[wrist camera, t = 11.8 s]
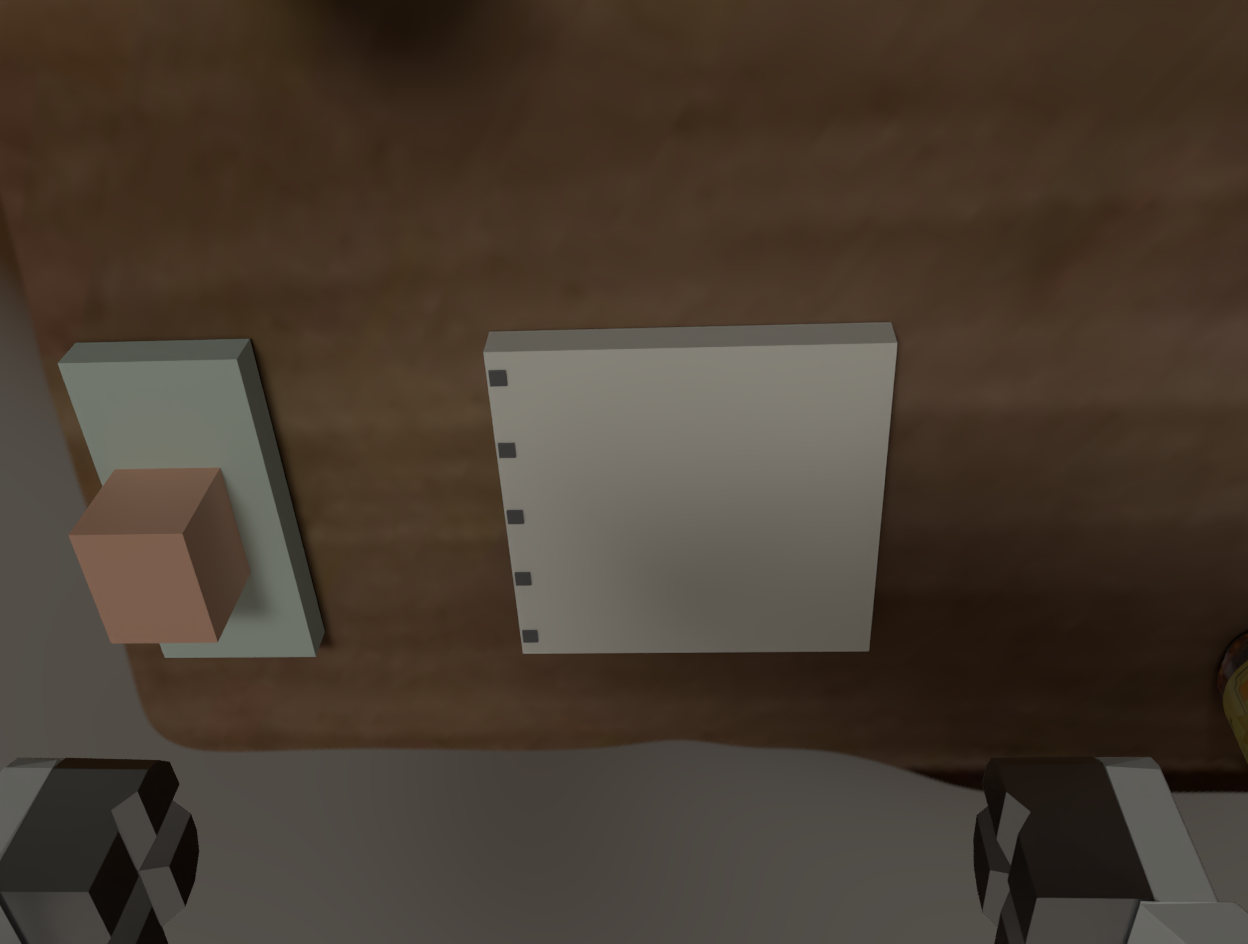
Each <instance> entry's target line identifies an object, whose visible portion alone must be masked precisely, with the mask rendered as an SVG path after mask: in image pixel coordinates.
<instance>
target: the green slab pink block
mask: <svg viewBox="0 0 1248 944" xmlns="http://www.w3.org/2000/svg"><path fill="white" fill-rule="evenodd" d="M58 366H59V368H60V371H61V374H62V377H63V379H64V382H65V385H66V388H67V390H68V393H69V396H70V399H71V401H72V404H73V407H74V410H75V412H76V415H77V418H78V421H79V423H80V426H81V429H82V432H83V434H84V437H85V440H86V443H87V445H88V448H89V451H90V454H91V456H92V459H93V462H94V465H95V467H96V470H97V473H98V476H99V478H100V481H101V484H102V488H101V490H100V491H99V492H98V494H97V495H96V497H95V498H94V500H93V501H92V502H91V504H90V505H89V507H88V508H87V510H86V511H85V512H84V514H83V515H82V517H81V518H80V520H79V521H78V522H77V524H76V525H75V527H74V528H73V530H72V531H71V533H70V534H69V538H70V540H71V543H72V545H73V548H74V550H75V552H76V555H77V558H78V560H79V563H80V565H81V568H82V570H83V573H84V576H85V578H86V580H87V583H88V586H89V588H90V591H91V593H92V596H93V598H94V601H95V603H96V606H97V608H98V611H99V614H100V616H101V619H102V621H103V624H104V626H105V628H106V631H107V633H108V636H109V639H110V641H111V643H160V646H161V649H162V651H163V654H164V657H165V658H207V657H316V655H317V652H318V649H319V647H320V644H321V641H322V639H323V636H324V633H325V631H324V627H323V623H322V619H321V615H320V611H319V607H318V603H317V599H316V596H315V592H314V588H313V584H312V580H311V576H310V572H309V568H308V564H307V560H306V556H305V553H304V549H303V545H302V541H301V537H300V533H299V529H298V525H297V521H296V517H295V513H294V510H293V506H292V502H291V498H290V494H289V490H288V486H287V482H286V478H285V474H284V470H283V467H282V463H281V459H280V455H279V451H278V447H277V443H276V439H275V435H274V431H273V428H272V424H271V420H270V416H269V412H268V408H267V404H266V400H265V396H264V392H263V388H262V385H261V381H260V377H259V373H258V369H257V365H256V361H255V357H254V353H253V349H252V345H251V342H250V339H218V340H176V341H134V342H92V343H75V344H74V345H73V347H72V348H71V349H70V350H69V351H68V352H67V353H66V355H65V356H64V357H63V358H62V359H61V360H60V361H59V362H58Z"/></svg>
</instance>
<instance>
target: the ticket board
mask: <svg viewBox="0 0 1248 944" xmlns="http://www.w3.org/2000/svg"><path fill="white" fill-rule="evenodd" d="M483 353H484V361H485V368H486V376H487V383H488V391H489V399H490V406H491V414H492V421H493V429H494V437H495V444H496V452H497V460H498V467H499V475H500V482H501V490H502V498H503V505H504V513H505V520H506V528H507V536H508V543H509V551H510V558H511V566H512V574H513V581H514V589H515V596H516V604H517V612H518V619H519V627H520V635H521V642H522V650H523V654H551V653H698V652H845V651H869V646H870V636H871V625H872V614H873V603H874V592H875V581H876V571H877V560H878V549H879V538H880V527H881V516H882V505H883V495H884V484H885V473H886V462H887V451H888V440H889V429H890V419H891V408H892V397H893V386H894V375H895V364H896V354H897V340H896V336H895V333H894V330H893V327H892V324H891V322H876V323H834V324H792V325H750V326H708V327H666V328H624V329H582V330H541V331H499V332H489V335H488V338H487V342H486V345H485V349H484V352H483Z"/></svg>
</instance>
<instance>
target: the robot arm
mask: <svg viewBox="0 0 1248 944" xmlns="http://www.w3.org/2000/svg"><path fill="white" fill-rule="evenodd" d="M982 785H983V789H984V793H985V796H986V800H987V804H988V806H987V807H986V808H985V809H984V810H982V811H981V812H980V813H979V814H978V815H977V817H976V824H975V831H974V839H973V843H974V871H975V878H976V885H977V891H978V895H979V900H980V904H981V908H982V912H983V913H984V914H985V915H986V916H987V917H988V918H989V919H990V920H991V921H992V922H993V923H994V924H995V925H996V926H997V927H998V928H997V933H996V938H995V943H994V944H1248V912H1247V911H1245V910H1244V909H1243V908H1242V907H1240V906H1239V905H1238V904H1237V903H1234V902H1219V901H1218V899H1217V896H1216V894H1215V892H1214V889H1213V888H1212V885H1211V882H1210V880H1209V878H1208V876H1207V874H1206V871H1205V869H1204V866H1203V864H1202V862H1201V860H1200V858H1199V855H1198V853H1197V851H1196V848H1195V846H1194V844H1193V841H1192V839H1191V837H1190V835H1189V832H1188V830H1187V828H1186V825H1185V823H1184V821H1183V819H1182V816H1181V814H1180V812H1179V809H1178V807H1177V805H1176V803H1175V800H1174V798H1173V796H1172V793H1171V791H1170V789H1169V786H1168V784H1167V782H1166V780H1165V777H1164V775H1163V773H1162V770H1161V768H1160V766H1159V765H1158V764H1157V763H1156V762H1155V761H1154V760H1153V759H1152V758H1151V757H1097V758H1093V757H1021V758H991V759H990V760H989V762H988V764H987V765H986V769H985V774H984V779H983V784H982ZM178 786H179V782H178V779H177V777H176V775H175V773H174V771H173V768H172V766H171V764H170V762H167V761H161V760H132V759H92V758H19V757H18V758H17V759H16V760H14V761H13V762H11V763H10V764H9V765H7V766H6V767H5V768H4V769H3V770H2V771H1V773H0V944H168V941H167V939H166V936H165V933H164V930H163V928H162V926H163V925H165V924H166V923H167V922H168V921H169V920H170V919H172V918H173V917H174V916H175V915H176V914H177V913H179V912H180V911H181V910H182V909H183V908H184V907H185V906H186V904H187V901H188V898H189V895H190V893H191V890H192V887H193V885H194V882H195V877H196V870H197V863H198V856H199V845H198V836H197V829H196V826H195V824H194V821H193V818H192V815H191V813H189V812H188V811H187V810H185V809H184V808H183V807H181V806H180V805H178V804H177V803H176V802H174V801H173V798H174V795H175V793H176V791H177V789H178Z"/></svg>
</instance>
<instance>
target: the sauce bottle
mask: <svg viewBox="0 0 1248 944" xmlns="http://www.w3.org/2000/svg"><path fill="white" fill-rule="evenodd" d="M1217 686H1218V690H1219V693H1220V696H1221V698H1222V701H1223V707H1224V712H1225V715H1226V717H1227V719H1228V722H1229V724H1230V726H1231V728H1232V731H1233V733H1234V735H1235V737H1236V739H1237V742H1238V744H1239V746H1240V748H1241V751H1242V753H1243V755H1244V757H1245V759H1246V762H1247V764H1248V633H1245V634H1242V635H1241V636H1240V637H1239V638H1237V639H1235V640H1234V641H1233V643H1232V644H1231V645H1230V647H1229V648H1227V651H1226V654H1225V657H1224V660H1223V661H1222V663H1221V666H1220V669H1219V671H1218V674H1217Z"/></svg>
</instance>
